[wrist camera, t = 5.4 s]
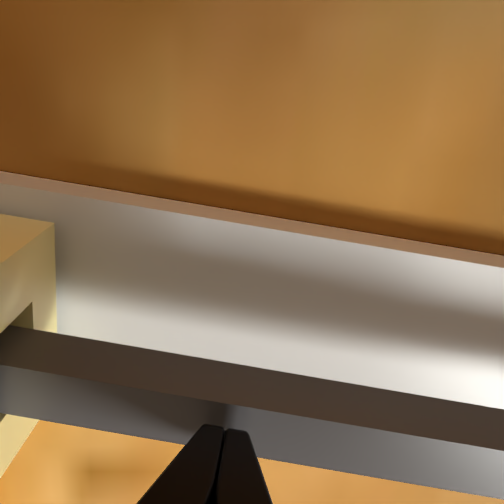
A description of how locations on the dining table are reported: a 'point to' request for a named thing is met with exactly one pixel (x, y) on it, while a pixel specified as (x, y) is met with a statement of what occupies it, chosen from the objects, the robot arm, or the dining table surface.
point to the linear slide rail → (264, 336)
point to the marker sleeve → (25, 302)
